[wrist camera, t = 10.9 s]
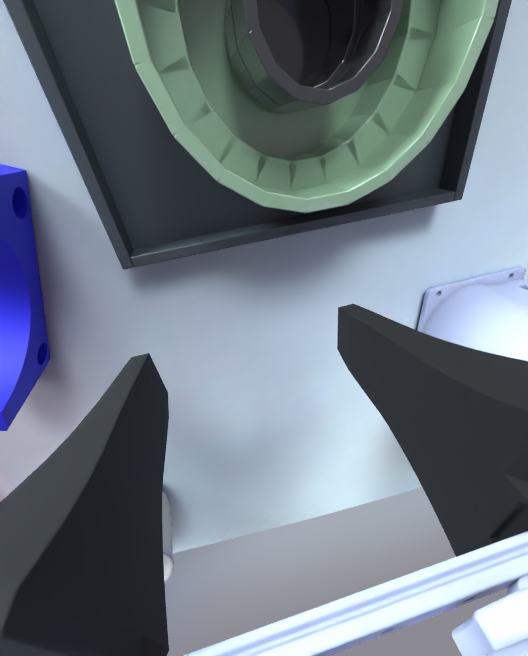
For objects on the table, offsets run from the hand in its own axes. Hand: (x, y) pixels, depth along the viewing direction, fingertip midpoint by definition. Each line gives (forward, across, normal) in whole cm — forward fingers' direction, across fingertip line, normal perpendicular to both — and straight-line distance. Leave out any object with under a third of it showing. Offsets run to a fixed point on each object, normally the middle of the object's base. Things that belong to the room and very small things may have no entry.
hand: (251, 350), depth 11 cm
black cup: (+9, -5, -10) cm, 15 cm away
